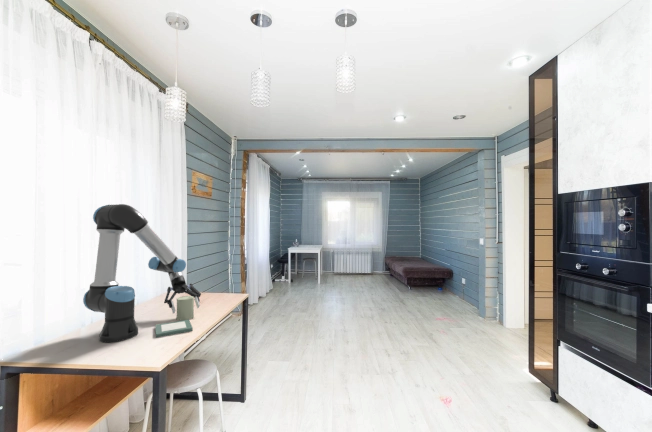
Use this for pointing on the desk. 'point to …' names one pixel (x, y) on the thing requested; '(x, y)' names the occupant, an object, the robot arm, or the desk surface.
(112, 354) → the desk surface
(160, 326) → the board
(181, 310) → the can
